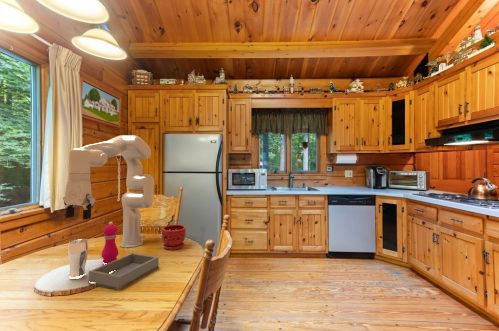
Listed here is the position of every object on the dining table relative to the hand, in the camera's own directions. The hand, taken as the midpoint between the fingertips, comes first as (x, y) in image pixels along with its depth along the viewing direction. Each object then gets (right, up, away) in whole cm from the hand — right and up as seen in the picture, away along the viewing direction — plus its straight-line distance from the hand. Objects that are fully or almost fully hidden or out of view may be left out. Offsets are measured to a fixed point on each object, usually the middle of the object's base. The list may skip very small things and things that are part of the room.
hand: (78, 218), depth 103 cm
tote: (+19, -25, +2) cm, 32 cm away
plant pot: (+28, -26, +39) cm, 55 cm away
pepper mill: (+5, -25, +15) cm, 30 cm away
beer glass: (0, -25, 0) cm, 25 cm away
